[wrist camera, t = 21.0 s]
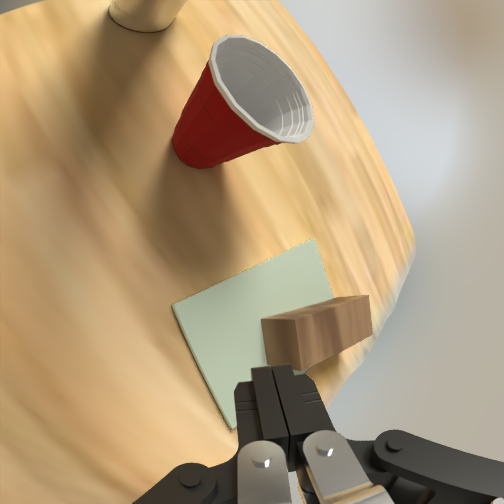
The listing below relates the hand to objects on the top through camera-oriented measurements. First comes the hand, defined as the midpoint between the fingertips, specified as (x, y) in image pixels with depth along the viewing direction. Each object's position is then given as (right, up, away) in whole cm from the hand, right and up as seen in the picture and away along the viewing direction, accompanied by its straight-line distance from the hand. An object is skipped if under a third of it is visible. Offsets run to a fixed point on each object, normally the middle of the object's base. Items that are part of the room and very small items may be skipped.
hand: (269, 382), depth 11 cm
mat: (+2, -3, +21) cm, 21 cm away
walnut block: (+2, -4, +17) cm, 18 cm away
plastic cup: (-6, +16, +19) cm, 26 cm away
